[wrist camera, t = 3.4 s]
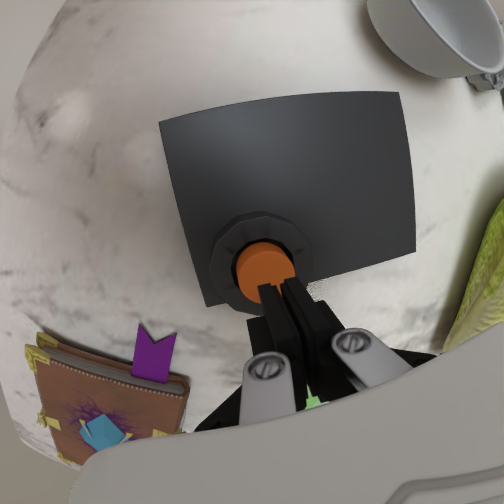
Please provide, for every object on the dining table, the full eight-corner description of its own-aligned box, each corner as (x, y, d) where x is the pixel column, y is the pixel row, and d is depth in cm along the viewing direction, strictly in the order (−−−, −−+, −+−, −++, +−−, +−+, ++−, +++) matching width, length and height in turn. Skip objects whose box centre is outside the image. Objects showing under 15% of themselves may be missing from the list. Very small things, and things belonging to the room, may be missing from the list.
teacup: (447, 104, 18) (514, 99, 10) (345, 56, 16) (406, 16, 8) (439, -1, 14) (487, -23, 6) (349, -49, 12) (386, -91, 4)
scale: (208, 298, 20) (207, 327, 17) (164, 126, 16) (151, 117, 13) (400, 249, 21) (429, 265, 17) (382, 96, 17) (413, 87, 13)
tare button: (242, 295, 17) (245, 310, 15) (230, 248, 16) (232, 259, 14) (291, 283, 17) (298, 296, 15) (283, 236, 16) (290, 245, 14)
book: (205, 331, 22) (208, 372, 18) (165, 465, 28) (166, 494, 24) (27, 279, 18) (-3, 306, 13) (54, 434, 24) (45, 461, 20)
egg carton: (479, 24, 15) (502, 17, 11) (506, 79, 17) (529, 77, 13) (438, 29, 15) (464, 18, 11) (471, 96, 18) (500, 94, 14)
